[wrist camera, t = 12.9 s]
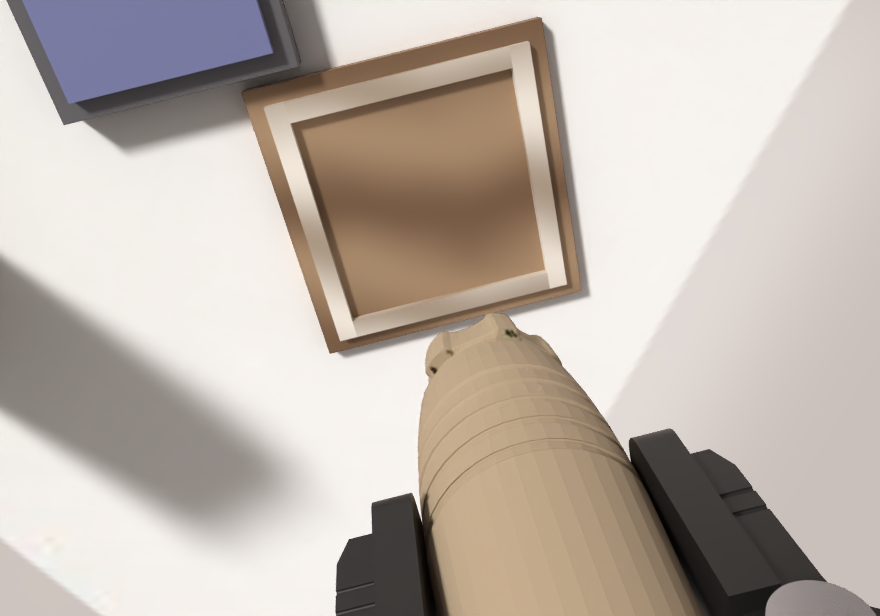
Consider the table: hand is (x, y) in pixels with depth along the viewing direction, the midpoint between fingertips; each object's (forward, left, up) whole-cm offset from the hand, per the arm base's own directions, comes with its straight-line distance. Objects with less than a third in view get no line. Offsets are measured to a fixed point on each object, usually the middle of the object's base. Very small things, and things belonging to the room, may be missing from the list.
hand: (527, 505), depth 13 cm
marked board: (0, 0, -20) cm, 20 cm away
